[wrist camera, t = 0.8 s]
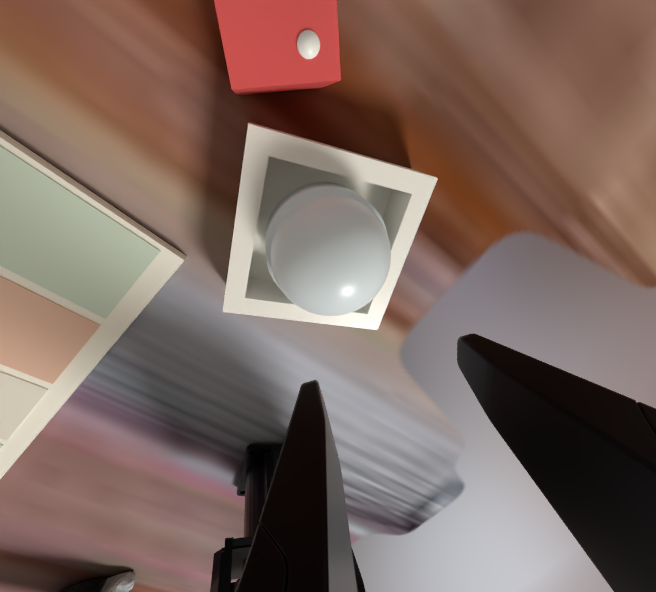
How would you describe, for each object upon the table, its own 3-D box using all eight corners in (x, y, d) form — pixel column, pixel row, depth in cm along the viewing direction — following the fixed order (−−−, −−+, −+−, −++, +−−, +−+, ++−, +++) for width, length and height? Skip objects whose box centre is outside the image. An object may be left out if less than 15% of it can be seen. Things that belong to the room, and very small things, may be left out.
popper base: (363, 304, 22) (377, 329, 19) (227, 285, 19) (222, 311, 17) (412, 169, 18) (437, 177, 15) (249, 121, 15) (248, 123, 13)
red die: (321, 87, 15) (341, 80, 12) (237, 95, 15) (231, 89, 11) (313, -27, 13) (333, -77, 10) (214, -23, 13) (199, -75, 9)
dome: (354, 292, 20) (386, 349, 15) (256, 277, 18) (256, 336, 13) (387, 194, 17) (439, 226, 12) (276, 166, 15) (285, 189, 10)
